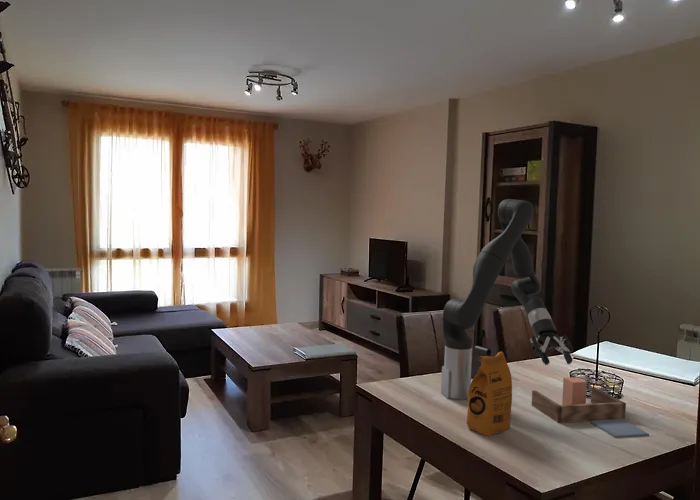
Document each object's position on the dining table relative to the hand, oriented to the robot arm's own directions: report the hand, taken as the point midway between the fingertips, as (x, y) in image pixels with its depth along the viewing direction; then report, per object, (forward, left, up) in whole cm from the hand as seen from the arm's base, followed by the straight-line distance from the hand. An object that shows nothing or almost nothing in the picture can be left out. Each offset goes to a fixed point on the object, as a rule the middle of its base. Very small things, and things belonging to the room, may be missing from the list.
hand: (559, 363), depth 177 cm
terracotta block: (0, -9, -13) cm, 16 cm away
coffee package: (-35, -19, -13) cm, 42 cm away
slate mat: (+4, -25, -13) cm, 28 cm away
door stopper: (-15, +27, -13) cm, 33 cm away
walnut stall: (0, -11, -13) cm, 17 cm away
